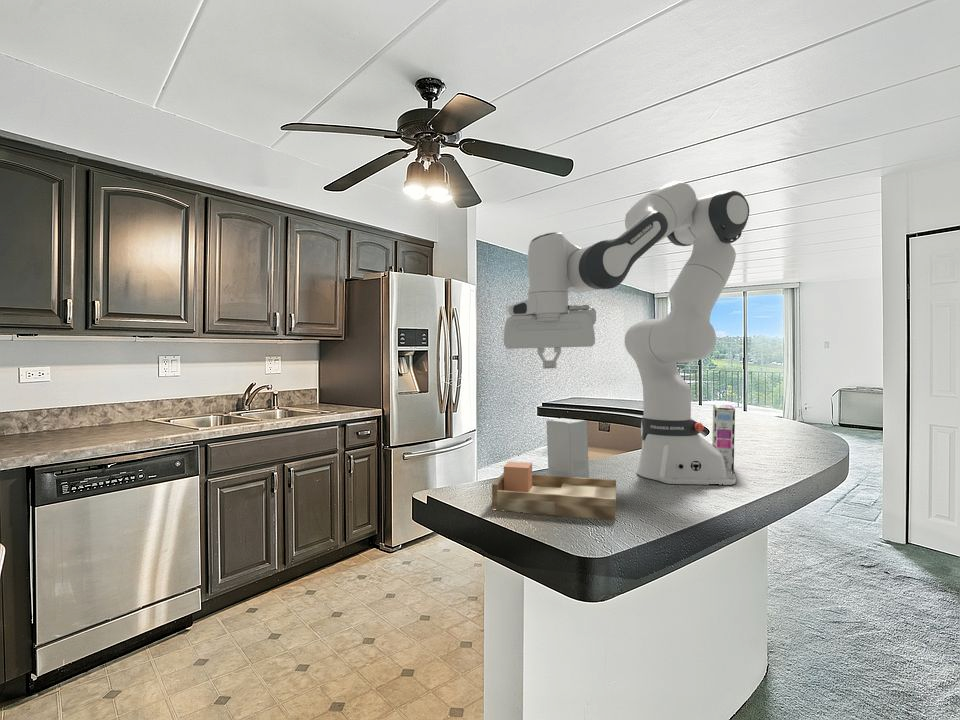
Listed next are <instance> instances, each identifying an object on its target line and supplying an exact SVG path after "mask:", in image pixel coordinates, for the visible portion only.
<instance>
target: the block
mask: <svg viewBox="0 0 960 720" xmlns="http://www.w3.org/2000/svg"><path fill="white" fill-rule="evenodd" d="M503 473H504V491H517V492H529V491H530V490H531V488H532V475H533V462H526V461H525V462H521V461H508V462H507V463H505V465H504V466H503Z"/></svg>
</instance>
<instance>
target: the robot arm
mask: <svg viewBox="0 0 960 720" xmlns="http://www.w3.org/2000/svg"><path fill="white" fill-rule="evenodd" d="M749 216H750V205H749V202H748V201H747V199H746V197H745V196H744V195H743V194H742V193H741V192H739V191H738V190H722V191H718V192H716V193H714V194H709V195H706V196H703V197H700V198H697V195H696V192H695V190H694V189H693V187H692V186H691V185H689V184H688V183H687V182H683V181H680V180H679V181H672V182H671V181H670V182H669V183H666V184H664V185H662V186H660V187H658V188H656V189H653V191H651V192H650V193H648V194H646V195H645V196H643V197H642V198H641V199H639V200H638V201H637V202H636V203H634V205H633V206H631V208H630V209H628V211H627V213H626V214H625V218H624V226H625V231H623V232H622V233H621V234H620V235H619V236H617V238H613V239H605V240H601V241H598V242H596V243H593V244H592V245H590V246H586V247H584V248H582V247H579V246H578V245H575V244H574V243H572V242H571V241H570V240H568V239H567V238H566V237H565V235H564V234H563V233H562V232H559V231H556V232H554V231H553V232H548V233H545V234H540V235H538V236H536V237H534V238H533V239H531V241H530V243H529V245H528V251H527V277H528V280H529V288H528V290H527V291H528V292H527V297H528V298H527V299H524V300H522V301H520V302H516V303H514V304H512V305H509V306H508V308H507V312H508V314H509V317H508V318H507V319H506V321H505V322H504V323H505V324H504V329H503V330H504V331H503V345H504V347H505V348H506V349H507V350H510V349H511V350H513V349H514V350H517V349H536V351H537V355H538V356H539V358H540V360H541V361H542V369H557V365H558V363H557V361H558V359H559V358H560V355H562V348H587V347H589V348H590V347H591V348H592V347H593V346H595V344H596V334H595V327H594V324H595V323H596V322H597V311H596V309H595V308H594V307H592V306H590V304H589V305H588V304H582V305H576V304H575V305H574V304H573V305H571V304H570V305H569V292H570V293H575V294H580V293H586V292H592V291H597V290H610V289H611V290H612V289H614V288H616V287H619V285H620V284H622V282H623V281H625V279H626V277H627V276H628V274H629V272H630V270H631V269H632V267H633V265H634V263H635V262H636V261H637V260H638V259H640V257H642V256H643V255H644V254H645V253H647V251H649V250H651V248H652V247H654V245H656V244H657V243H659V242H661V241H662V240H664V239H666V238H667V239H668V240H669V241H670V243H672V245H673V244H674V246H679V247H689V246H692V252H691V254H690V257H689V258H688V260H687V261H686V263H685V264H684V266H683V267H682V269H681V270H680V273H679V274H678V275H677V277H676V279H675V281H674V282H673V285H672V286H671V288H670V289H669V292H668V299H669V301H670V304H671V306H672V307H671V310H670V312H669V314H667V315H666V316H665V317H661V318H650V319H644V320H642V321H639V322H636V323H635V324H633V325H631V326H630V327H629V328H628V330H627V331H626V333H625V336H624V347H625V349H626V352H627V353H628V355H629V356H630V357H631V358H632V359H633V360H634V362H635V364H636V367H637V370H638V372H639V376H640V379H641V384H642V385H641V386H642V394H643V395H642V396H643V401H642V402H643V403H642V404H643V407H642V408H643V416H642V417H641V422H640V437H641V440H642V443H641V451H640V458H639V462H638V466H637V469H636V474H637V475H638V476H640V477H643V478H646V479H649V480H655V481H659V482H661V483H664V484H669V485H709V484H719V485H720V486H726V485H727V486H728V485H729V486H730V485H731V486H733V485H735V484H736V483H737V478H736V475H735V474H734V473H731V472H729V471H727V470H726V468H725V462H724V458H723V456H722V454H721V453H720V451H719V450H717V449H716V448H715V447H714V446H713V445H712V443H710V442H709V441H708V440H706V439H705V438H704V437H702V436H701V435H700V432H703V430H705V426H704V424H703V423H701V422H698V421H696V420H694V419H692V418H691V417H692V414H691V413H692V408H691V407H692V389H691V386H690V385H689V383H688V382H687V381H686V380H684V378H683V377H682V375H681V374H680V372H679V368H678V365H677V363H687V364H688V363H692V362H696V361H699V360H700V361H701V360H703V359H706V358H708V357H709V356H710V355H711V354H712V353H713V351H714V349H715V346H716V342H717V334H716V331H715V329H714V326H713V325H712V324H711V322H710V320H711V315H712V311H713V309H714V307H715V306H716V305H715V304H716V302H717V301H718V299H719V297H720V295H721V293H722V292H723V290H724V288H725V286H726V285H727V282H728V280H729V278H730V276H731V273H732V271H733V268H734V266H735V262H736V258H737V253H736V251H735V250H736V249H735V248H734V246H733V245H732V244H733V243H735V242H737V240H739V239H740V238H741V236H742V232H743V230H744V229H745V228H746V225H747V223H748V220H749ZM595 325H596V324H595ZM546 348H547V349H550V348H553V352H554V353H555V355H554V358H553V359H551V360H549V359H548V360H547V359H546V357H545V356H544V354H545V352H546V351H545V350H546ZM722 484H723V485H722ZM732 484H733V485H732ZM719 485H718V486H719Z"/></svg>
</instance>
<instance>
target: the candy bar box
mask: <svg viewBox="0 0 960 720" xmlns="http://www.w3.org/2000/svg"><path fill="white" fill-rule="evenodd" d="M735 420H736V408H735V407H734V406H732V405H728V404H712V442H711V445H713V446H714V447H715V448H716V449H717V450H719V451H720V453H721V454H722V456H723V458H724V462H725V468H726V470H727V471H729V472H733V473H732V474H734V473H735V472H734V471H735V434H736V433H735V432H736V430H735V427H736V425H735V424H736V421H735Z"/></svg>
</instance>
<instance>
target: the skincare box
mask: <svg viewBox="0 0 960 720" xmlns="http://www.w3.org/2000/svg"><path fill="white" fill-rule="evenodd" d="M545 422H546V438H547V439H546V442H547V444H546V445H547V448H546V449H547V470H548V472H547V473H548V475H547V476H562V477H578V478H590V470H589V469H590V467H589V466H590V465H589V449H588V447H589V446H588V445H589V443H588V423H587V422H588V421H587V420H584V419H572V418H564V417H560V418H555V419H554V418H553V419H548V420H546V421H545Z"/></svg>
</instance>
